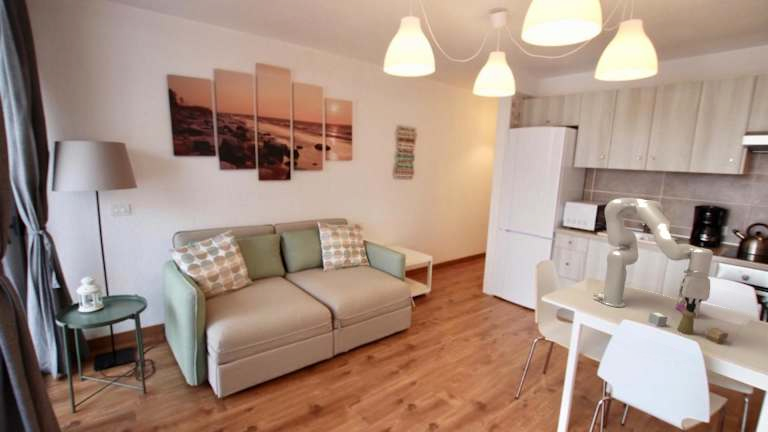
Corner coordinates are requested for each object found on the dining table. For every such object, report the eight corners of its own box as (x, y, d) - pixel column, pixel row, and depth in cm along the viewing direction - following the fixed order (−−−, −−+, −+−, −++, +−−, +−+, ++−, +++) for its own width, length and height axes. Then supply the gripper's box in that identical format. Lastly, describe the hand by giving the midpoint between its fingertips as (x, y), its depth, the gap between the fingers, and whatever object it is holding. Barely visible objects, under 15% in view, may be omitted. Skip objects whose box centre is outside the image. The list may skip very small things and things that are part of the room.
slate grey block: (657, 326, 177) (659, 316, 176) (648, 321, 181) (650, 312, 180) (665, 326, 178) (667, 316, 177) (656, 321, 182) (658, 311, 181)
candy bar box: (674, 308, 199) (680, 280, 196) (685, 309, 199) (690, 281, 196) (687, 317, 189) (693, 288, 186) (698, 318, 188) (704, 289, 185)
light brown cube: (717, 344, 162) (719, 333, 161) (705, 338, 167) (707, 328, 166) (726, 343, 163) (728, 333, 162) (714, 337, 168) (716, 327, 167)
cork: (673, 328, 175) (678, 307, 173) (685, 328, 175) (689, 308, 173) (685, 335, 169) (689, 313, 167) (696, 335, 169) (701, 313, 167)
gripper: (682, 274, 165) (675, 311, 168) (721, 279, 161) (713, 316, 164) (674, 269, 172) (667, 305, 176) (712, 273, 168) (704, 310, 172)
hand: (689, 310), depth 170 cm, fingers closed
